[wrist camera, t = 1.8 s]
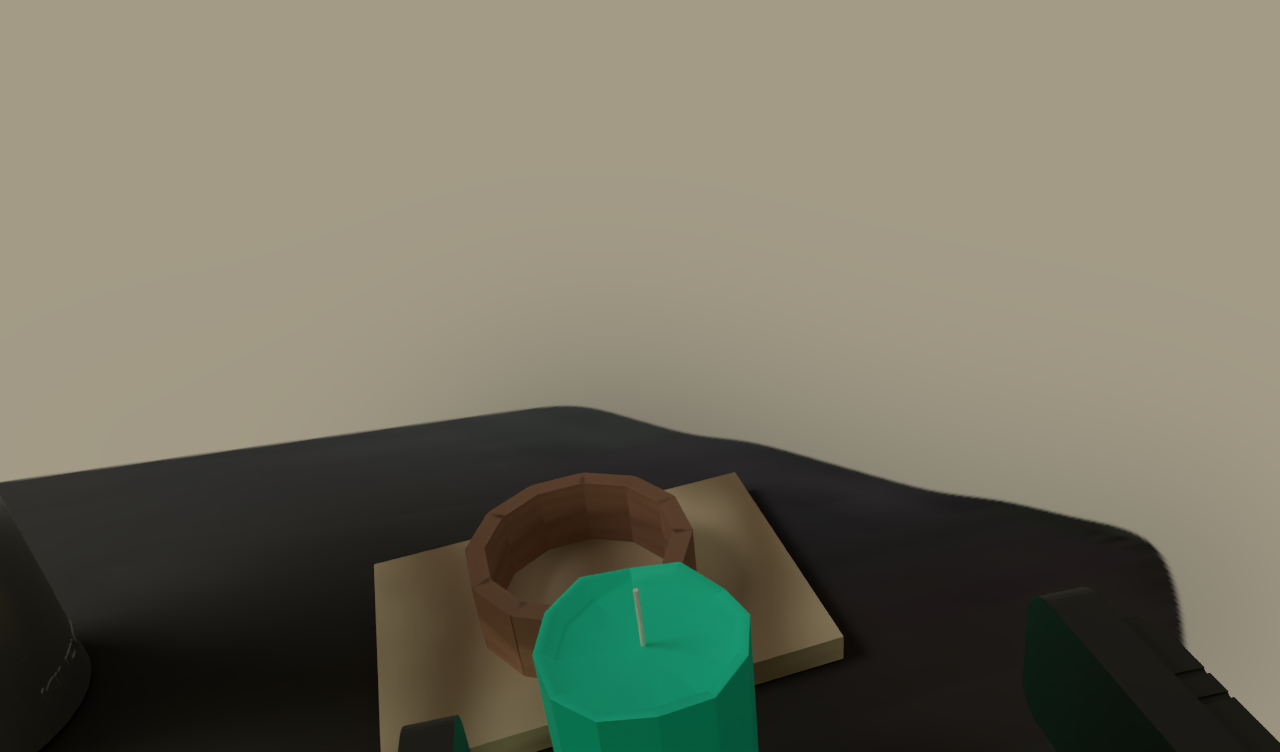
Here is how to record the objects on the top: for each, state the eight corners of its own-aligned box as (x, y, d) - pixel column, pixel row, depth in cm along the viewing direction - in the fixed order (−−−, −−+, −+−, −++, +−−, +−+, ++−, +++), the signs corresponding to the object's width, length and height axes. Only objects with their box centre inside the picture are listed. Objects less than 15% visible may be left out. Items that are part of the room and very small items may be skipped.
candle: (789, 941, 28) (777, 654, 22) (591, 980, 27) (524, 699, 21) (743, 771, 33) (723, 503, 27) (577, 802, 32) (520, 537, 27)
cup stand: (389, 795, 33) (358, 712, 31) (380, 584, 44) (356, 510, 42) (843, 658, 37) (843, 575, 35) (736, 491, 47) (731, 418, 45)
